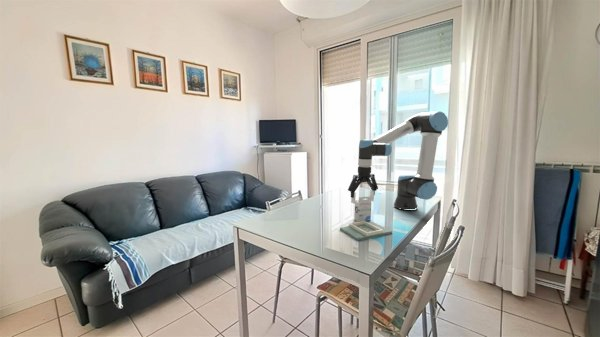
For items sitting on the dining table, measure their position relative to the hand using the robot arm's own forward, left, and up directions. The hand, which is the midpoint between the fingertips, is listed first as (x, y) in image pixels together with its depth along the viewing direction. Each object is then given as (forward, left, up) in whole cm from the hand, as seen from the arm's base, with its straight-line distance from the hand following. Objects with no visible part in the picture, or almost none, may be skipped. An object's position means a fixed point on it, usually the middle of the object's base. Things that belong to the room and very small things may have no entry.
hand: (362, 201), depth 146 cm
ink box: (0, 0, -11) cm, 11 cm away
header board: (+10, +15, -11) cm, 21 cm away
